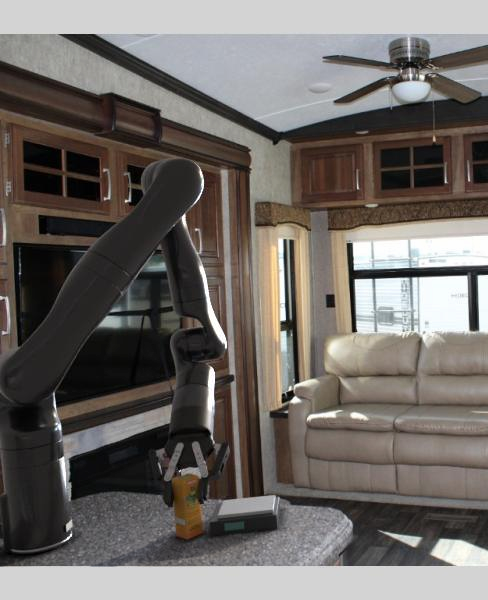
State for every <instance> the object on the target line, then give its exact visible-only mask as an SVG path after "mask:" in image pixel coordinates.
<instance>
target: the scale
mask: <svg viewBox="0 0 488 600" xmlns="http://www.w3.org/2000/svg"><path fill="white" fill-rule="evenodd" d="M280 503H281V502H280V497H279V496H276V495H275V494H271V495H261V496H253V497H252V496H251V497H243V498H233V499H224V500H223V501H222V502H219V503H216V505H215V507H214V510H213V513H212V515H211V518H210V520H209V532H210V535H209V536H210V537H214V536H215V537H216V536H224V535H232V534H241V533H250V532H259V531H270V530H277V529H278V527H279V520H280V513H281V505H280Z"/></svg>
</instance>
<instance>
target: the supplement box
mask: <svg viewBox="0 0 488 600" xmlns="http://www.w3.org/2000/svg"><path fill="white" fill-rule="evenodd" d="M199 479H200V476H199V475H197V474H194V473H190V472H188V473H185V474H181V475H179V476H178V477H175V478H173V479H172V482H173V496H174V503H173V508H174V509H173V510H174V524H175V535H176V537H178V538H180V539H184V540H191V539H193V538H195V537H197V536H200V535H201V534H203V532H204V531H203V515H202V504H199V501H198V491H199Z"/></svg>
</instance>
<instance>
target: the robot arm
mask: <svg viewBox="0 0 488 600" xmlns="http://www.w3.org/2000/svg"><path fill="white" fill-rule="evenodd" d="M204 184H205V180H204V174H203V171H202V170H201V167H200V166H199V165H198V164H197V163H196V162H194V161H192V160H191V159H188V158H184V157H170V158H169V157H168V158H165V159H161V160H156V161H153V162H151V163H150V164H148V165H147V166H146V167H145V169H144V170H143V172H142V174H141V177H140V186H141V191H142V194H143V196H142V197H141V199H140V201H139V202H138V203H137V204H136V205H135V206H134V208H132V210H131V211H129V213H127V215H125V216H124V217H123V218H121V219H120V220H119V221H118V222H117V223H115V224H114V225H113V226H111V227H110V228H109V229H108V230H106V231H105V232H104V233H103V234H102V235H100V237H98V238H97V239H96V240H95V241H94V242H93V243H92V244H91V246H90V247H88V249H87V250H86V251H85V253H84V254H83V255H82V256H81V257H80V259H79V260H78V262H77V263H76V264H75V265H74V267H73V268H72V270H71V271H70V272H69V274H68V276H67V277H66V279H65V281H64V282H63V285H62V286H61V289H60V291H59V293H58V295H57V297H56V299H55V301H54V303H53V305H52V307H51V309H50V310H49V313H48V314H47V315H46V317H45V319H44V320H43V321H42V323H41V324H39V326H38V327H37V328H36V330H35V331H34V332H33V333H32V334H31V335H30V336H29V337H28V338H27V339H26V340H25V341H24V342H23V344H21V346H16V347H12V348H9V349H7V350H6V351H4V352H2V353H1V354H0V459H1V460H0V461H1V471H2V482H3V493H2V494H0V519H1V520H0V521H1V522H0V540H1V539H2V540H3V550H4V551H3V552H4V554H14V555H34V554H40V553H44V552H48V551H51V550H54V549H56V548H59V547H61V546H63V545H66V543H68V542H69V541H71V539H73V531H72V528H73V519H71V513H70V502H69V492H68V490H69V489H68V481H67V470H66V458H65V449H64V448H65V447H64V438H63V427H62V422H61V419H60V417H59V414H58V410H57V403H56V397H55V395H56V394H55V392H56V391H57V389H58V388H59V386H60V385H61V383H62V381H63V379H64V378H65V376H66V374H67V373H68V371H69V370H70V368H71V366H72V364H73V362H74V361H75V359H76V357H77V356H78V354H79V352H80V351H81V350H82V347H83V346H84V345H85V343H86V342H87V341H88V339H89V338H90V336H91V335H92V334H93V333H94V332H95V331H96V330H97V328H98V327H99V326H100V325H101V324H102V322H103V321H104V320H105V319H106V318H107V316H108V315H109V314H110V313H111V312H112V310H113V309H114V308H115V306H116V305H117V304H118V303H119V301H120V300H121V299H122V298H123V296H124V295H125V294H126V292H127V291H128V290H129V288H130V287H131V286H132V284H133V283H134V282H135V280H136V279H137V277H138V275H140V273H141V272H142V270H143V269H144V267H145V266H146V264H147V263H148V262H149V260H150V259H151V257H153V255H154V253H155V252H156V251H157V249H158V247H159V246H160V249H161V253H162V257H163V261H164V266H165V271H166V276H167V281H168V288H169V293H170V299H171V304H172V309H173V312H174V314H175V315H176V316H177V317H180V318H188V319H189V318H190V319H194V320H197V321H198V322H199V323H200V324H201V325H202V326H193V327H185V328H179V329H177V330H175V331H174V332H173V334H172V335H171V337H170V340H169V347H170V352H171V356H172V359H173V363H174V367H175V384H174V385H175V386H174V394H173V399H172V402H171V408H170V410H171V411H170V418H169V430H168V439H167V442H166V444H165V445H164V447H163V448H159V449H157V450H156V449H154V448H150V449H149V450H148V452H147V455H148V460H149V463H150V468H151V473H152V477H153V480H154V481H155V484H156V485H157V486H163V491H162V500H163V502H164V504H165V505H166V506H167V508H168V509H169V508H174V496H173V482H172V479H173V478H175V477H179V476H181V473H182V471H183V470H186V469H191V468H192V469H198V470H199V473H200V478H199V491H198V501H199V504H201V505H205V503H206V502H205V501H208V500H209V498H210V483H212V482H213V481H215V480H216V481H218V480H220V479H221V478H222V476H223V473H224V470H225V469H226V468H225V467H226V465H227V461H228V459H229V457H230V453H231V450H230V446H229V443H228V442H226V441H224V442H222V443H215V440H214V423H215V415H216V410H215V407H216V406H215V381H216V380H215V379H216V375H215V371H214V368H213V367H212V366H211V365H210V364H208V363H205V362H211V361H217V360H220V359H222V358H223V357H224V355H225V354H226V351H227V345H228V344H227V338H226V335H225V333H224V331H223V328H222V327H221V325H220V323H219V321H218V319H217V317H216V315H215V312H214V310H213V307H212V304H211V299H210V293H209V287H208V280H207V276H206V272H205V269H204V268H205V267H204V266H203V263H202V260H201V258H200V255H199V254H198V251H197V249H196V247H195V246H194V243H193V240H192V238H191V235H190V232H189V229H188V225H187V220H186V213H188V212H189V210H191V209H192V207H193V206H194V205H195V204H196V203H197V202H198V200H200V198H201V195H202V193H203V190H204ZM214 452H215V455H216V456H215V457H216V458H215V460H214V463H213V465H212V468H211V469H210V470H208V468H207V465H206V464H207V463H206V461H207V460H208V459H209V458H210V456H211V455H212V454H213V453H214ZM165 456H167V458H168V459H169V460H170V461H169V463H168V466H167V470H166V472H165V474H163V472H162V468H161V464H162V463H163V462H164V459H165V458H164V457H165Z"/></svg>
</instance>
